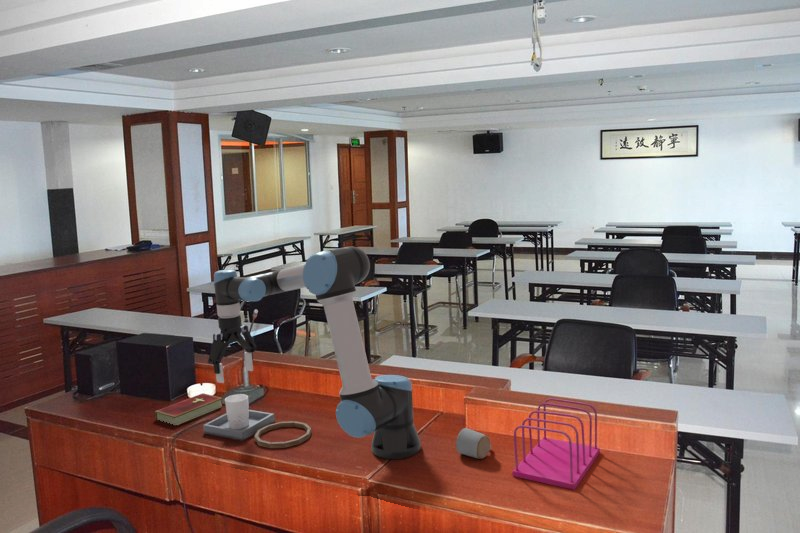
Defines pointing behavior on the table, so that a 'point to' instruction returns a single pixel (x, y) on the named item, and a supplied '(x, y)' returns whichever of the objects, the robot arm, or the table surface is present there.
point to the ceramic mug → (473, 443)
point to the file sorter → (556, 452)
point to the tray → (222, 429)
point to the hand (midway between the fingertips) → (235, 376)
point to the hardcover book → (188, 409)
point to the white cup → (237, 411)
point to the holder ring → (287, 443)
